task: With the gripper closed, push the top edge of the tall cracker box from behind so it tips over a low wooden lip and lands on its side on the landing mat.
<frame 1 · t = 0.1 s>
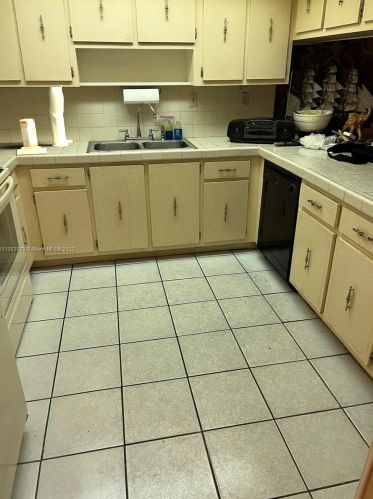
cracker box: (31, 147, 287), on the counter
landing mat: (31, 151, 270), on the counter
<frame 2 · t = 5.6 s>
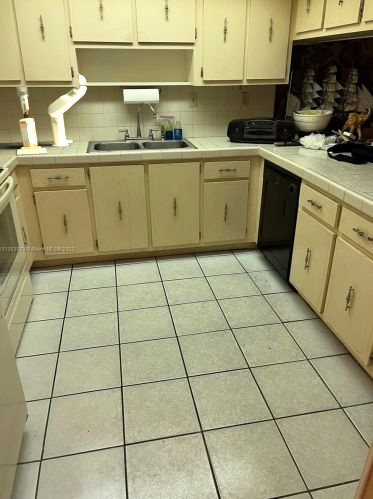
hand: (26, 119, 286), 20 cm above the counter, tool pointing down, fingers closed
cracker box: (31, 147, 287), on the counter, touching gripper
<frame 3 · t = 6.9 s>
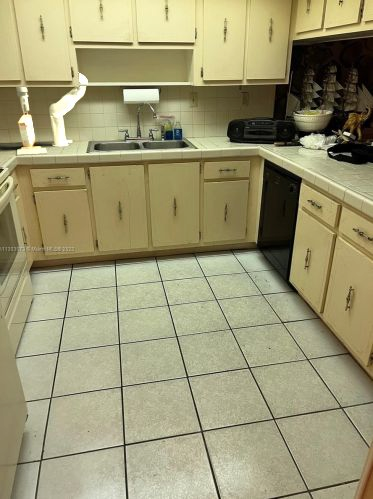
hand: (26, 120, 281), 20 cm above the counter, tool pointing down, fingers closed
cracker box: (30, 144, 286), point 2 cm above the counter, touching gripper
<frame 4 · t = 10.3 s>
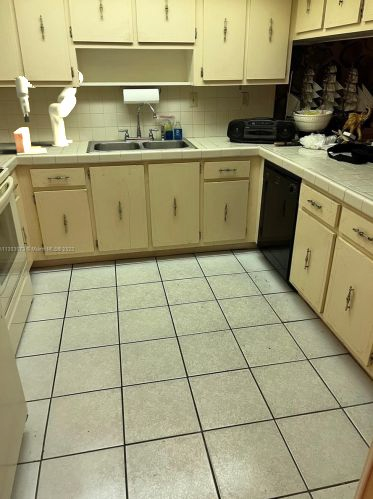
hand: (27, 122, 272), 20 cm above the counter, tool pointing down, fingers closed
cracker box: (26, 136, 278), point 9 cm above the counter, touching landing mat
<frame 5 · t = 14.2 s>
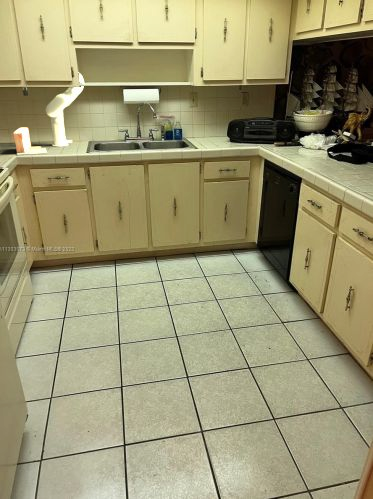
hand: (25, 95, 282), 37 cm above the counter, tool pointing down, fingers closed
nothing on the counter moved.
at the end: cracker box tilted 94°; cracker box touching landing mat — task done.
